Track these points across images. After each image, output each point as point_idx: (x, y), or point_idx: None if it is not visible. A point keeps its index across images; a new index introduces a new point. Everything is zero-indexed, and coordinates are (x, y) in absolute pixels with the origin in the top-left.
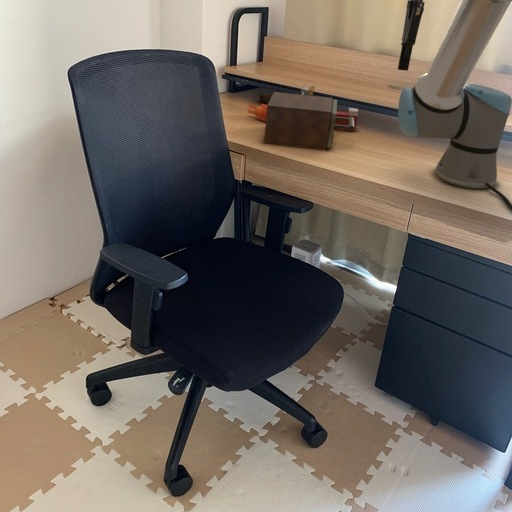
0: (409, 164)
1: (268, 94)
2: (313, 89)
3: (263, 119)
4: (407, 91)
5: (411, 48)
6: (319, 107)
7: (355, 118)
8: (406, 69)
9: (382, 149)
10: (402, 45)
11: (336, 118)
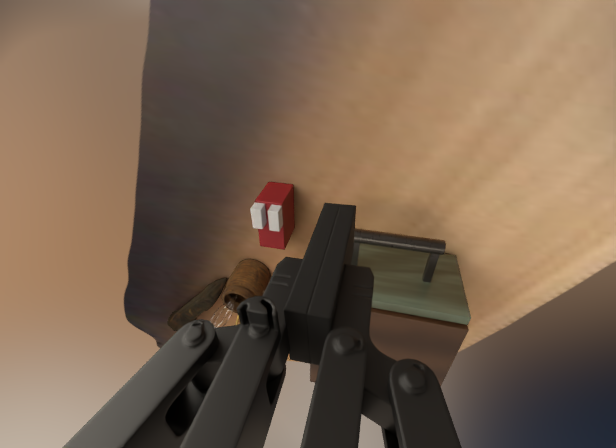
0: (580, 67)
1: (177, 323)
2: (238, 317)
3: None
4: None
5: (333, 308)
6: (425, 342)
7: (284, 205)
8: (354, 216)
9: (430, 134)
10: (308, 360)
11: (356, 265)
